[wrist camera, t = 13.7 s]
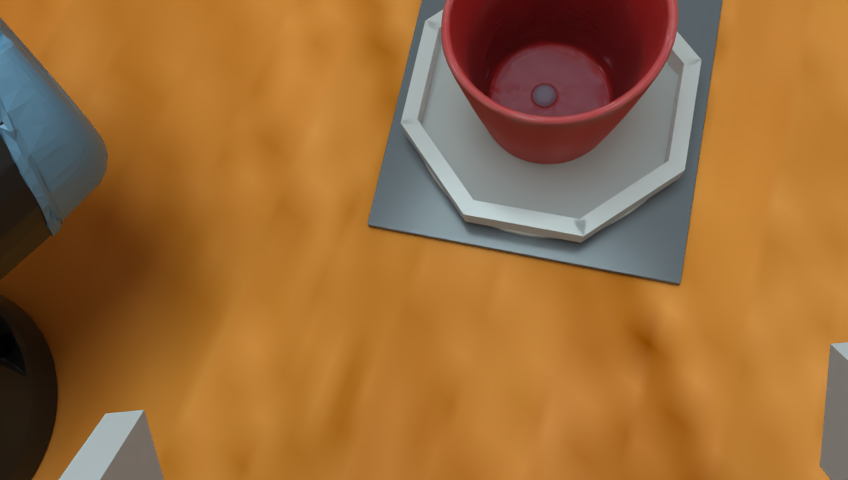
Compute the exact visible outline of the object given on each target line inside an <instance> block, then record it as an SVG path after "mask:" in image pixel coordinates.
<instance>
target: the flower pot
mask: <svg viewBox="0 0 848 480" xmlns="http://www.w3.org/2000/svg"><path fill="white" fill-rule="evenodd" d="M677 27H678V4H677V0H445V4H444V8H443V13H442V21H441V39H442V47H443V52H444V56H445V59H446V62H447V64H448V66H449V69H450V70H451V72H452V74H453V76H454V78H455V80H456V82H457V83H458V85H459V87H460V88H461V90H462V92H463V93H464V95H465V96H466V98H467V100H468V101H469V103H470V105H471V106H472V108H473V109H474V111H475V112H476V114H477V116H478V117H479V119H480V120H481V121H482V123H483V124H484V126H485V127H486V129H487V130H488V131H489V133H490V134H491V136H492V137H493V138H494V140H495V141H496V142H497V143H498V144H499V145H500V146H501V147H502V148H503V149H505V150H506V151H507V152H508V153H510V154H512V155H513V156H515V157H517V158H519V159H522V160H525V161H528V162H532V163H538V164H559V163H565V162H569V161H572V160H574V159H577V158H579V157H581V156H583V155H585V154H587V153H588V152H590V151H591V150H592V149H594V148H595V147H596V146H597V145H598V144H599V143H600V142H601V141H602V140H603V139H604V138H605V137H606V136H607V135H608V134H609V133H610V132H611V131H612V130H613V129H614V128H615V127H616V126H617V125H618V124H619V123H620V122H621V120H622V119H623V118H624V117H625V116H626V115H627V113H628V112H629V111H630V110H631V109H632V108H633V106H634V105H635V104H636V103H637V102H638V100H639V99H640V98H641V97H642V96H643V94H644V93H645V92H646V91H647V89H648V88H649V87H650V85H651V84H652V83H653V81H654V80H655V79H656V77H657V76H658V75H659V73H660V72H661V70H662V68H663V67H664V65H665V63H666V61H667V60H668V58H669V55H670V53H671V50H672V48H673V45H674V42H675V38H676V34H677Z"/></svg>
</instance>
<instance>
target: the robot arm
mask: <svg viewBox="0 0 848 480" xmlns="http://www.w3.org/2000/svg"><path fill="white" fill-rule="evenodd" d="M107 157H108V155H107V151H106V147H105V144H104V141H103V139H102V138H101V136H100V135H99V133H98V132H97V131H96V129H95V128H94V127H93V125H92V124H91V123H90V121H89V120H88V119H87V118H86V116H85V115H84V114H83V113H82V112H81V110H80V109H79V108H78V107H77V105H76V104H75V103H74V102H73V101H72V100H71V98H70V97H69V96H68V95H67V94H66V92H65V91H64V90H63V89H62V88H61V86H60V85H59V84H58V83H57V82H56V81H55V79H54V78H53V77H52V76H51V75H50V74H49V72H48V71H47V70H46V69H45V68H44V67H43V65H42V64H41V63H40V62H39V61H38V60H37V59H36V57H35V56H34V55H33V54H32V53H31V52H30V50H29V49H28V48H27V47H26V46H25V45H24V44H23V43H22V41H21V40H20V39H19V38H18V37H17V36H16V35H15V33H14V32H13V31H12V30H11V29H10V28H9V27H8V26H7V24H6V23H5V22H4V21H3V20H2V19H1V18H0V280H1V279H2V278H3V277H4V276H5V275H6V274H7V273H9V272H10V271H11V270H12V269H13V268H14V267H15V266H17V265H18V264H19V263H20V262H21V261H22V260H23V259H24V258H26V257H27V256H28V255H29V254H30V253H31V252H32V251H34V250H35V249H36V248H37V247H38V246H39V245H40V244H41V243H43V242H44V241H45V240H46V239H47V238H48V237H49V236H54V235H55V234H57V233H58V231H59V230H60V229H61V227H62V221H63V220H64V219H65V218H66V217H67V216H68V215H69V214H70V213H71V212H72V211H73V210H74V209H75V208H76V207H77V206H78V205H79V204H80V203H81V202H82V201H83V200H84V199H85V198H86V197H87V196H88V195H89V194H90V193H91V192H92V191H93V190H94V189H95V188H96V187H97V186H98V185H99V183H100V182H101V179H102V178H103V176H104V174H105V171H106V165H107ZM56 402H57V386H56V376H55V369H54V365H53V361H52V357H51V354H50V351H49V348H48V346H47V344H46V341H45V339H44V337H43V335H42V334H41V332H40V330H39V329H38V327H37V326H36V324H35V323H34V322H33V321H32V319H31V318H30V317H29V316H28V315H27V314H26V313H25V312H24V311H23V310H22V309H21V308H20V307H18V306H17V305H16V304H15V303H13V302H12V301H10V300H9V299H7V298H5V297H3V296H1V295H0V480H30V479H31V477H32V476H33V474H34V472H35V471H36V469H37V467H38V465H39V463H40V461H41V459H42V457H43V455H44V452H45V450H46V448H47V445H48V442H49V439H50V436H51V432H52V428H53V424H54V419H55V412H56ZM820 467H821V468H822V469H823V471H824V472H825V473H826V474H827V476H828V477H829V478H830V480H848V342H847V343H836V344H830V356H829V367H828V379H827V390H826V402H825V413H824V424H823V436H822V447H821V459H820ZM59 480H164V479H163V475H162V472H161V468H160V464H159V461H158V457H157V454H156V450H155V447H154V443H153V440H152V436H151V433H150V429H149V426H148V422H147V418H146V415H145V411H144V410H138V411H127V412H117V413H106V414H105V415H104V417H103V418H102V419H101V421H100V422H99V424H98V425H97V426H96V428H95V429H94V431H93V432H92V433H91V435H90V436H89V438H88V439H87V440H86V442H85V443H84V445H83V446H82V448H81V449H80V450H79V452H78V453H77V455H76V456H75V457H74V459H73V460H72V462H71V463H70V464H69V466H68V467H67V469H66V470H65V471H64V473H63V474H62V476H61V477H60V479H59Z"/></svg>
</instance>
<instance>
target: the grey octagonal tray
mask: <svg viewBox="0 0 848 480" xmlns="http://www.w3.org/2000/svg"><path fill="white" fill-rule="evenodd" d="M444 4H445V0H422V3H421V7H420V11H419V15H418V19H417V23H416V27H415V31H414V36H413V40H412V44H411V48H410V52H409V56H408V60H407V64H406V68H405V72H404V77H403V81H402V85H401V89H400V93H399V97H398V101H397V105H396V109H395V113H394V118H393V122H392V126H391V130H390V134H389V138H388V142H387V146H386V150H385V154H384V159H383V163H382V167H381V171H380V175H379V179H378V183H377V187H376V191H375V195H374V199H373V204H372V208H371V212H370V216H369V220H368V226H369V227H374V228H379V229H385V230H390V231H395V232H400V233H406V234H411V235H416V236H422V237H427V238H432V239H437V240H443V241H448V242H453V243H458V244H464V245H469V246H474V247H480V248H485V249H490V250H495V251H501V252H506V253H511V254H516V255H522V256H527V257H532V258H538V259H543V260H548V261H553V262H559V263H564V264H569V265H574V266H580V267H585V268H590V269H596V270H601V271H606V272H611V273H617V274H622V275H627V276H632V277H638V278H643V279H648V280H654V281H659V282H664V283H669V284H675V285H679V284H680V282H681V275H682V268H683V261H684V255H685V248H686V241H687V234H688V228H689V221H690V214H691V207H692V201H693V194H694V187H695V180H696V174H697V167H698V160H699V154H700V147H701V140H702V133H703V127H704V120H705V113H706V106H707V100H708V93H709V86H710V79H711V73H712V66H713V59H714V52H715V46H716V39H717V32H718V26H719V19H720V12H721V5H722V0H677V4H678V27H677V34H676V38H675V42H674V45H673V48H672V50H671V53H670V55H669V58H668V60H667V61H666V63H665V65H664V67H663V68H662V70H661V72H660V73H659V75H658V76H657V77H656V79H655V80H654V81H653V83H652V84H651V85H650V87H649V88H648V89H647V91H646V92H645V93H644V94H643V96H642V97H641V98H640V99H639V100H638V102H637V103H636V104H635V105H634V106H633V108H632V109H631V110H630V111H629V112H628V113H627V115H626V116H625V117H624V118H623V119H622V120H621V122H620V123H619V124H618V125H617V126H616V127H615V128H614V129H613V130H612V131H611V132H610V133H609V134H608V135H607V136H606V137H605V138H604V139H603V140H602V141H601V142H600V143H599V144H598V145H597V146H596V147H595V148H594V149H592V150H591V151H590V152H588V153H587V154H585V155H583V156H581V157H579V158H577V159H574V160H572V161H569V162H565V163H559V164H538V163H532V162H528V161H525V160H522V159H519V158H517V157H515V156H513V155H512V154H510V153H508V152H507V151H506V150H505V149H503V148H502V147H501V146H500V145H499V144H498V143H497V142H496V141H495V140H494V138H493V137H492V136H491V134H490V133H489V131H488V130H487V129H486V127H485V126H484V124H483V123H482V121H481V120H480V119H479V117H478V116H477V114H476V112H475V111H474V109H473V108H472V106H471V105H470V103H469V101H468V100H467V98H466V96H465V95H464V93H463V92H462V90H461V88H460V87H459V85H458V83H457V82H456V80H455V78H454V76H453V74H452V72H451V70H450V69H449V66H448V64H447V62H446V59H445V56H444V52H443V47H442V39H441V21H442V13H443V8H444Z"/></svg>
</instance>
